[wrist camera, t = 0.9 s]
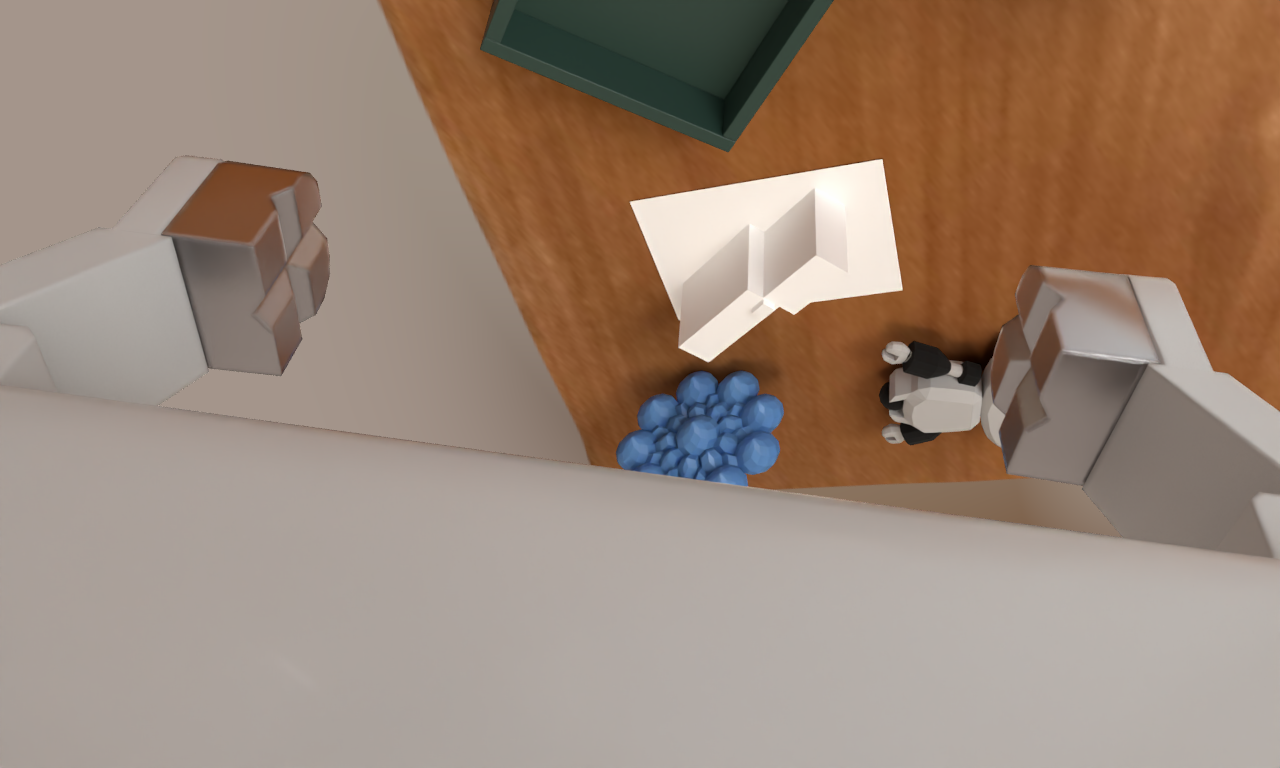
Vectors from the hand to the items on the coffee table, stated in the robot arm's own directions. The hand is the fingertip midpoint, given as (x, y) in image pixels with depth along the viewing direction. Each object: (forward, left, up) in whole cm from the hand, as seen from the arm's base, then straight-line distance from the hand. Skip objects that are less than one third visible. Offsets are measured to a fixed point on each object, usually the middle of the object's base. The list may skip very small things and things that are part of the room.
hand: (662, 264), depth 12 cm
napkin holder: (+33, +20, -38) cm, 54 cm away
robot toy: (+36, +39, -38) cm, 65 cm away
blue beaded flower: (+47, +23, -38) cm, 65 cm away
